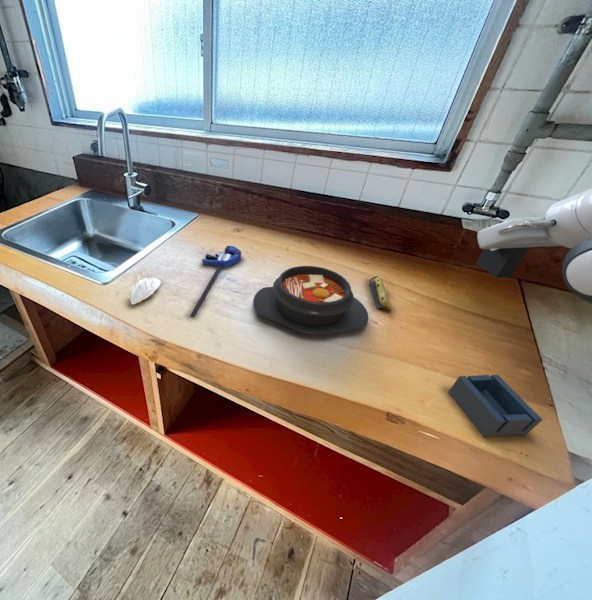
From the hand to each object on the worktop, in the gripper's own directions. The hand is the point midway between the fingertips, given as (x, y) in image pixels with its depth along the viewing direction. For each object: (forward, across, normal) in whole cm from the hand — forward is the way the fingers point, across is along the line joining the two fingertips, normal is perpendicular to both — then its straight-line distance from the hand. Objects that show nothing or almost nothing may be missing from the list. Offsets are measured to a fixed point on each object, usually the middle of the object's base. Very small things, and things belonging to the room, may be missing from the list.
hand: (503, 246), depth 67 cm
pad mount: (-10, -19, -31) cm, 37 cm away
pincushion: (+16, -78, -4) cm, 80 cm away
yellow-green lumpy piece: (+13, -20, -8) cm, 25 cm away
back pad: (+3, 0, -4) cm, 5 cm away
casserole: (+9, -39, -12) cm, 42 cm away
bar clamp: (+20, -61, 0) cm, 64 cm away
